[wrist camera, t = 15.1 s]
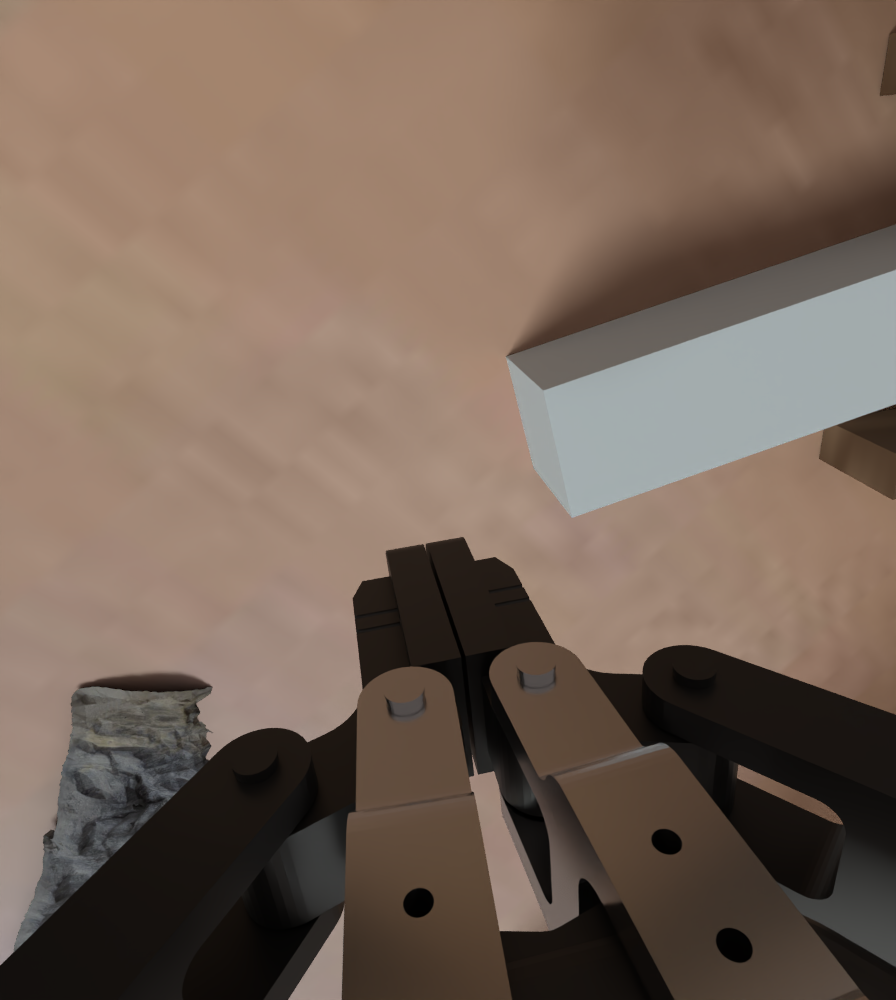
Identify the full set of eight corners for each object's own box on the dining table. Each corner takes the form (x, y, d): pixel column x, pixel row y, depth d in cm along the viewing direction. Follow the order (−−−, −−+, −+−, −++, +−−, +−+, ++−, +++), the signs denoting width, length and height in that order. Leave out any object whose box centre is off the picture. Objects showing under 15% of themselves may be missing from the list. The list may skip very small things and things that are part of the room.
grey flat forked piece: (87, 648, 23) (68, 690, 21) (281, 687, 25) (278, 728, 24) (-10, 1005, 30) (-30, 1060, 28) (148, 1011, 33) (138, 1062, 31)
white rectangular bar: (959, 315, 24) (1074, 341, 20) (531, 464, 23) (572, 517, 19) (969, 196, 22) (1098, 200, 18) (503, 354, 21) (542, 390, 18)
